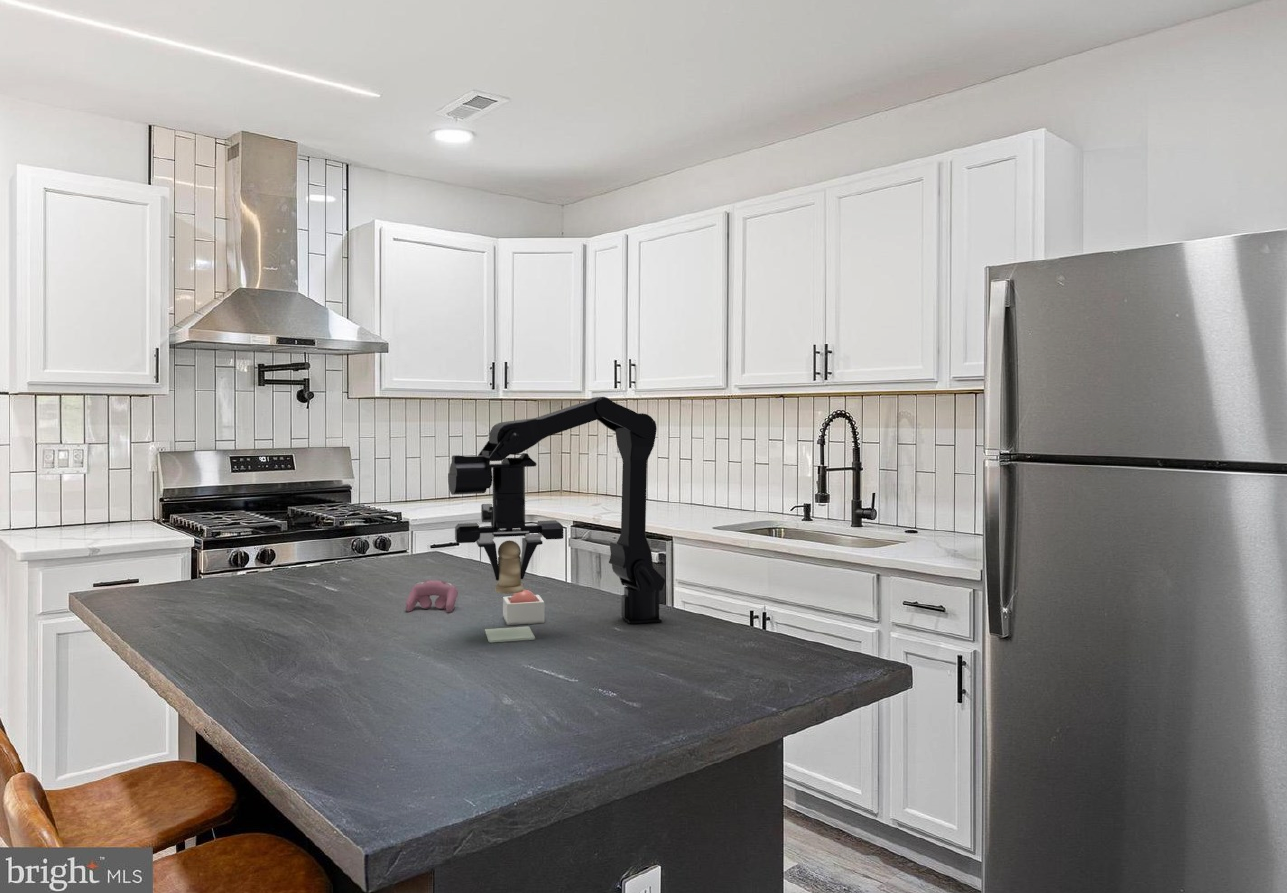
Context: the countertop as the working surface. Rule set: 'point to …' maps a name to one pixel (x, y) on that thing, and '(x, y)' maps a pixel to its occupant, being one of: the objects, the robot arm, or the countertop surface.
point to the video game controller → (430, 588)
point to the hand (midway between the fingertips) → (509, 579)
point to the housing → (523, 611)
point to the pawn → (509, 568)
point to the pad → (509, 634)
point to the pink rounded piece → (523, 597)
